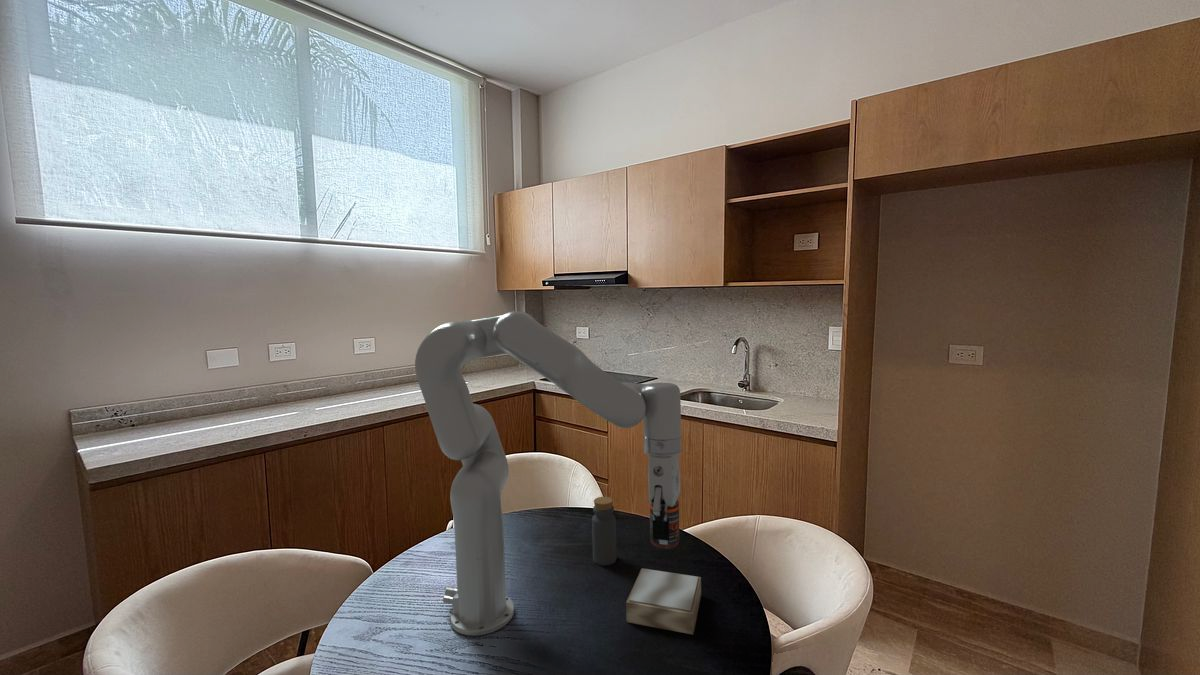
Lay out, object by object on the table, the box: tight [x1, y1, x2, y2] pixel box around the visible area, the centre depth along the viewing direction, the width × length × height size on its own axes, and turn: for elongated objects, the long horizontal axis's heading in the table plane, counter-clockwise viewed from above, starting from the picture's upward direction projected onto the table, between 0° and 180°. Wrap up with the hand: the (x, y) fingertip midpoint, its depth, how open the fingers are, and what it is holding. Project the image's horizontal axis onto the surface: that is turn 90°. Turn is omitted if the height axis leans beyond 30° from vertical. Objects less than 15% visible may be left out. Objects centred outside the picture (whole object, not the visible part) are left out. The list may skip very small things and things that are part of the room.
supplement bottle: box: [649, 499, 680, 550], centre depth 97 cm, size 6×6×11 cm
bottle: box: [591, 496, 617, 566], centre depth 117 cm, size 6×6×15 cm
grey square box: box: [625, 567, 702, 635], centre depth 98 cm, size 13×13×4 cm
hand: (664, 530), depth 97 cm, fingers closed on supplement bottle, 6 cm apart
